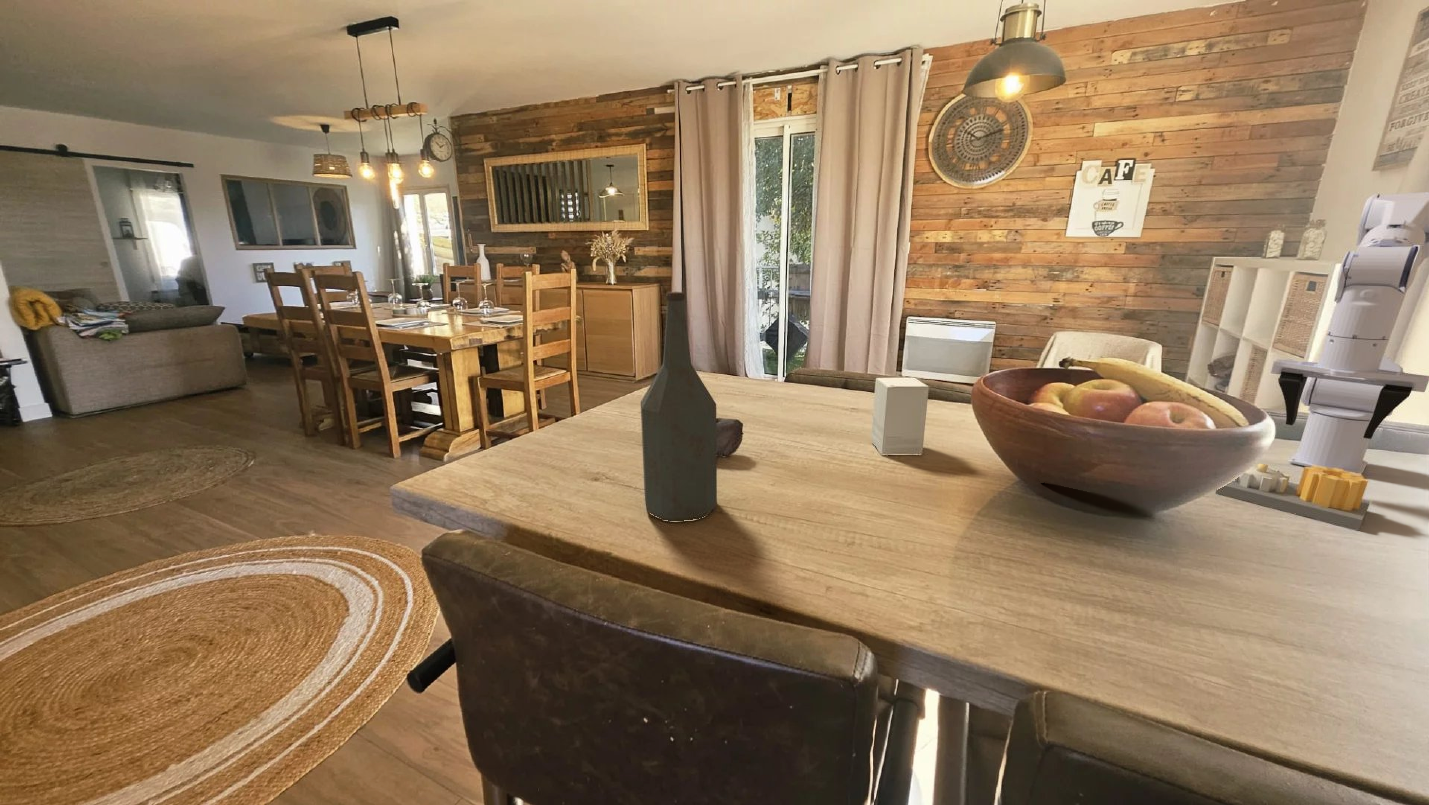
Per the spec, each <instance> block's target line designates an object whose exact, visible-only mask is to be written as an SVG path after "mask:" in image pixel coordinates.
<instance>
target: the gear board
mask: <svg viewBox="0 0 1429 805" xmlns="http://www.w3.org/2000/svg"><path fill="white" fill-rule="evenodd" d="M1253 465H1254V466H1252V467H1251V468H1250V469H1249V470H1247V471H1246V472H1244V473H1243V475H1240V477H1238V478H1237V479H1235V481H1232V482H1231V483H1229V484H1227V485H1226V486H1224V487H1222V488H1220V489H1218V490H1217V489H1216V490H1215V494H1217V495H1221V496H1225V497H1228V498H1232V499H1235V498H1236V499H1237V500H1239V499H1240V500H1239V501H1243V502H1247V501H1249V502H1248V503H1251V502H1252V504H1256V505H1258V504H1260V505H1259V506H1262V505H1263V507H1266V506H1267V507H1266V508H1270V507H1271V508H1270V509H1273V510H1277V509H1278V510H1277V511H1281V510H1284V511H1283V512H1285V511H1286V513H1289V512H1290V513H1289V514H1293V513H1296V514H1295V515H1297V514H1299V515H1298V516H1300V515H1302V516H1301V517H1304V516H1308V517H1311V518H1310V519H1312V518H1313V519H1312V520H1316V519H1317V521H1319V520H1320V522H1323V521H1325V522H1324V523H1327V522H1328V523H1327V524H1331V525H1334V526H1340V527H1343V528H1346V529H1351V530H1355V531H1360V528H1361V526H1362V523H1363V521H1364V520H1365V516H1366V514H1367V512H1368V510H1369V507H1370V503H1371V501H1370V500H1367V499H1363V498H1362V501H1361V504H1360V507H1359V509H1354V508H1352V509H1351V511H1348V510H1342V509H1339V508H1332V507H1328V508H1327V507H1323V506H1319V504H1315V503H1312V502H1310V501H1305V500H1302V499H1300V496H1301V495H1297V494H1296V493H1297V490H1298V486H1299V484H1298V483H1294V482H1289V481H1290V478H1291V476H1290V474H1287V473H1283V472H1280V469H1275V468H1273V467H1271V468H1268V467H1269V465H1268V464H1264V463H1258V464H1253ZM1308 517H1307V518H1308Z"/></svg>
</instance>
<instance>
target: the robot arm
mask: <svg viewBox="0 0 1429 805" xmlns="http://www.w3.org/2000/svg"><path fill="white" fill-rule="evenodd" d="M1357 229H1358V230H1357V231H1358V234H1357V239H1356V245H1357V248H1356V250H1353V251H1351V250H1348V251H1346V253H1345V254H1344V256H1343V259H1342V261H1341V265H1340V268H1339V271H1338V275H1337V281H1336V282H1337V283H1336V284H1337V286H1336V292H1335V296H1334V303H1335V306H1334V308H1333V310H1332V311H1333V312H1332V314H1331V317H1330V320H1329V324H1328V328H1327V331H1326V334H1325V337H1324V341H1323V344H1322V348H1321V352H1320V353H1319V354H1320V355H1319V358H1318V359H1317V360H1316V362H1313V361H1303V360H1302V361H1301V360H1290V359H1289V360H1287V359H1275V360H1273V362H1272V366H1271V369H1270V374H1275V375H1279V377H1278V379H1277V380H1278V385H1279V387H1280V389H1281V392H1282V396H1283V399H1284V405H1285V412H1286V413H1285V414H1286V415H1285V418H1286V419H1285V425H1287V426H1293V425H1294V424H1295V423H1296V421H1297V417H1298V412H1299V407H1300V402H1301V403H1302V404H1303V405H1304V406H1305V407H1308V409H1307V411H1309V414H1308V417H1307V418H1306V419H1307V420H1306V424H1305V427H1304V429H1303V434H1302V436H1301V439H1300V443H1299V446H1298V449H1297V451H1295V453H1294V454H1293V455H1292V456H1291V457H1290V458H1289V459H1288V463H1289V464H1294V465H1299V466H1302V467H1303V466H1304V467H1305V466H1306V467H1312V466H1313V465H1314V466H1322V467H1329V468H1338V469H1343V471H1348V472H1351V473H1357V474H1360V475H1362V476H1363V472H1364V470H1365V469H1366V467H1367V465H1368V461H1366V460H1364V459H1365V455H1366V452H1367V448H1368V446H1369V443H1370V440H1371V439H1372V438H1373V436H1374V435H1375V431H1376V430H1377V429H1378V427H1379V426H1380V424H1381V423H1382V422H1383V421H1384V420H1385V419H1386V418H1387V417H1389V416H1391V415H1392V414H1393V412H1394V410H1395V409H1396V408H1397V407H1398V406H1399V405H1400V404H1402V403H1403V402H1404V401H1405V400H1407V398H1409V397H1410V395H1411V393H1412V391H1413V392H1420V393H1425V392H1426V390H1427V387H1428V384H1429V375H1426V374H1425V375H1424V374H1423V375H1422V374H1415V373H1408V372H1405V371H1404V368H1403V367H1402V366H1401V365H1400V364H1398V363H1396V362H1395V361H1394V360H1392V359H1390V358H1389V357H1387V356H1386V355H1385V353H1386V350H1387V347H1388V344H1389V343H1390V338H1391V335H1392V333H1393V331H1394V328H1395V325H1396V322H1397V320H1398V317H1399V314H1400V311H1401V309H1402V306H1403V304H1404V303H1403V302H1404V300H1405V297H1406V295H1407V292H1408V290H1409V289H1410V288H1411V286H1412V284H1413V283H1414V281H1415V277H1416V276H1417V272H1418V269H1419V268H1420V266H1421V264H1422V263H1423V262H1424V261H1425V259H1428V258H1429V191H1425V192H1406V193H1389V194H1388V193H1387V194H1386V193H1385V194H1380V193H1374V194H1372V195H1371V196H1370V197H1368V198H1367V199H1366V202H1365V204H1364V205H1363V209H1362V212H1361V216H1360V219H1359V223H1358V228H1357Z"/></svg>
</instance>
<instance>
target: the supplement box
mask: <svg viewBox="0 0 1429 805" xmlns="http://www.w3.org/2000/svg"><path fill="white" fill-rule="evenodd" d="M874 383H875V385H874V397H873V412H872V422H871V423H872V424H871V436H870V437H871V438H870V442H871V441H872V443H874V445H875V446H876V447H877V449H878V450H879V451H880V452H881V454H918V455H919V454H922V455H923V450H924V449H923V448H924V440H925V432H926V431H925V430H926V429H925V428H926V419H927V410H928V409H927V408H928V401H929V400H928V399H929V389H930V387H929V385H927V384H926V383H924V382H922V381H921V380H919V379H918V378H916V377H876V378H875V382H874ZM872 443H871V444H872ZM874 445H873V446H874ZM875 446H874V447H875ZM877 449H876V450H877ZM878 450H877V451H878ZM879 451H878V452H879ZM880 452H879V453H880ZM881 454H880V455H881Z"/></svg>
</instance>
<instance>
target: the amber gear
mask: <svg viewBox="0 0 1429 805" xmlns="http://www.w3.org/2000/svg"><path fill="white" fill-rule="evenodd" d="M1364 477H1365V476H1364V475H1363V474H1362V475H1360V474H1357V473H1351V472H1348V471H1343V469H1338V468H1329V467H1322V466H1314V465H1313V466H1312V467H1308V466H1304V468H1303V471H1302V474H1301V477H1300V481H1299V486H1298V490H1297V493H1296V494H1297V495H1301V496H1300V499H1302V500H1305V501H1310V502H1312V503H1315V504H1319V506H1323V507H1327V508H1328V507H1332V508H1339V509H1342V510H1348V511H1351V509H1352V508H1354V509H1359V507H1360V504H1361V501H1362V499H1363V498H1364V495H1365V491H1366V490H1367V485H1368V482H1369V479H1366V478H1364Z"/></svg>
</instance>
